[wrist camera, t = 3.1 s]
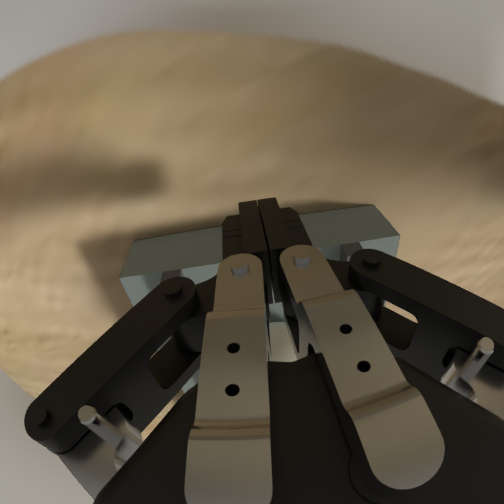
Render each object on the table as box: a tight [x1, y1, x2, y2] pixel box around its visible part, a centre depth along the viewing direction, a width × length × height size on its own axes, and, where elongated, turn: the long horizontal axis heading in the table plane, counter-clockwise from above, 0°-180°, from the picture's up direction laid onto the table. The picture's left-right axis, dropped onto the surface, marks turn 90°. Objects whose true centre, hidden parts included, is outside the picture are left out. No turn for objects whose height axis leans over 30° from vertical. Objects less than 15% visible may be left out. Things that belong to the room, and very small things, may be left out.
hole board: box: [119, 205, 400, 393], centre depth 25 cm, size 15×30×4 cm, turn 7°
